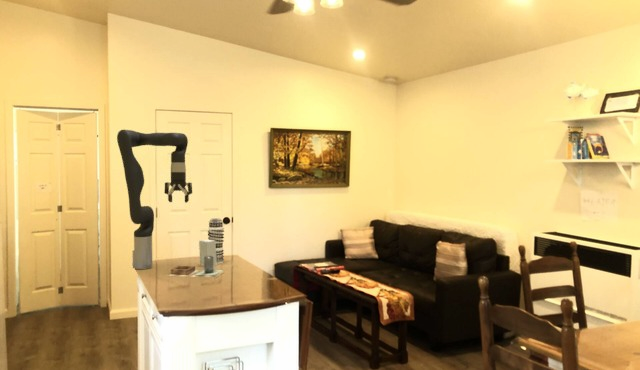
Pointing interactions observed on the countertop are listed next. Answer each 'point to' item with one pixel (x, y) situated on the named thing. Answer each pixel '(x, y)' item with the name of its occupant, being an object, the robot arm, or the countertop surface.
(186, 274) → the caddy
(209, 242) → the skincare box
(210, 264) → the end cover
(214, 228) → the decorative candle
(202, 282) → the countertop surface
